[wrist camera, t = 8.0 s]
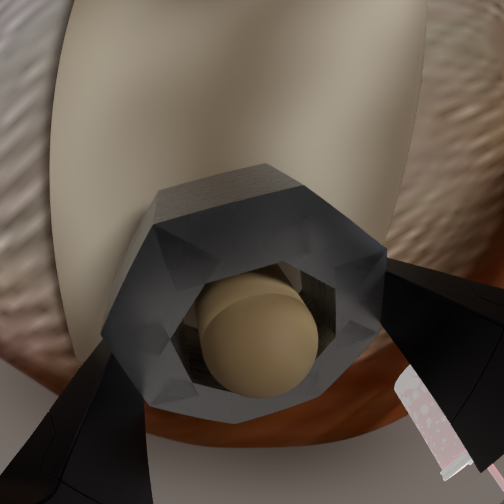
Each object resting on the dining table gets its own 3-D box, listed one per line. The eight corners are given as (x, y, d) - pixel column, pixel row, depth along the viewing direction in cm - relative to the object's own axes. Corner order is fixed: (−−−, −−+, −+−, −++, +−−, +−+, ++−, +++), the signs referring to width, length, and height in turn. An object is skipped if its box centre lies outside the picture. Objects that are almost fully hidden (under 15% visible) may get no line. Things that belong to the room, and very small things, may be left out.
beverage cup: (372, 404, 20) (458, 540, 7) (415, 344, 17) (533, 491, 5) (418, 393, 22) (496, 502, 9) (456, 340, 19) (555, 451, 7)
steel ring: (333, 149, 8) (387, 167, 6) (341, 330, 11) (372, 373, 9) (87, 213, 7) (58, 255, 5) (170, 383, 10) (175, 437, 8)
